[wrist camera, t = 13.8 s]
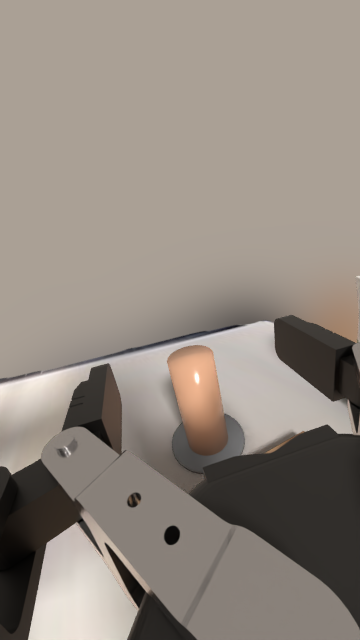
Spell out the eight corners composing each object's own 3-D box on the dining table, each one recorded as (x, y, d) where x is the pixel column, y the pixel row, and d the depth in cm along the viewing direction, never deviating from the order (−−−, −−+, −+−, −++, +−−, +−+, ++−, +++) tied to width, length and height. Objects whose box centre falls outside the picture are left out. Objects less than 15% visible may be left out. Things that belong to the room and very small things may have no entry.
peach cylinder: (182, 452, 33) (160, 369, 28) (193, 421, 38) (175, 346, 33) (224, 458, 31) (207, 370, 26) (230, 424, 36) (216, 344, 31)
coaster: (162, 467, 32) (161, 465, 32) (184, 411, 40) (183, 409, 40) (241, 479, 28) (240, 477, 28) (247, 415, 37) (246, 413, 37)
